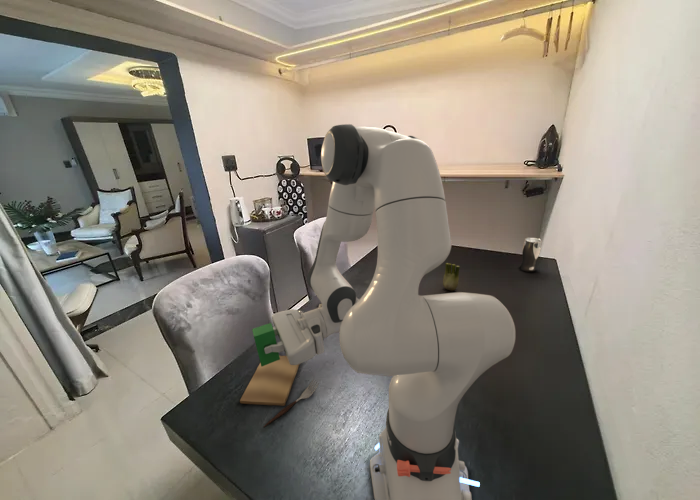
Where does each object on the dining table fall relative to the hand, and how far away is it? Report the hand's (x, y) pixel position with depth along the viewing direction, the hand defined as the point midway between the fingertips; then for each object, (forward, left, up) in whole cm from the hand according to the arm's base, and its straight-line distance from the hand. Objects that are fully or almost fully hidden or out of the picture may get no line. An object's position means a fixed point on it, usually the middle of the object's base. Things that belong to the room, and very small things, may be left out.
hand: (262, 344), depth 70 cm
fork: (-8, -9, -13) cm, 17 cm away
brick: (+1, -1, -5) cm, 6 cm away
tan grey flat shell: (+35, -8, -13) cm, 39 cm away
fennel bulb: (+34, -32, -9) cm, 48 cm away
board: (0, -1, -13) cm, 13 cm away
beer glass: (+69, -102, -13) cm, 123 cm away
